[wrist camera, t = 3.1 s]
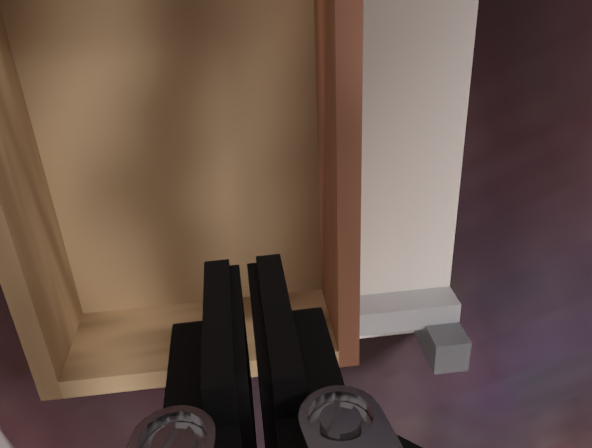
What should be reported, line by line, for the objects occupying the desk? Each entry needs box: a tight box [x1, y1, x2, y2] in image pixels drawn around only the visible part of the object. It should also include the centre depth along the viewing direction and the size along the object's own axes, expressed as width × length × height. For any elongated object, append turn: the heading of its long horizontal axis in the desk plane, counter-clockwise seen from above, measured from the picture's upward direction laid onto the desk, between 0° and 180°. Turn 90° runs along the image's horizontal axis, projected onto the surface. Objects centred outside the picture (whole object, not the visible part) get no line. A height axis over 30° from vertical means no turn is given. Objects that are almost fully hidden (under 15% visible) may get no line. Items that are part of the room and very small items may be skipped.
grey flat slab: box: [359, 0, 479, 375], centre depth 22 cm, size 17×22×4 cm
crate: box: [0, 0, 364, 401], centre depth 20 cm, size 12×16×5 cm
